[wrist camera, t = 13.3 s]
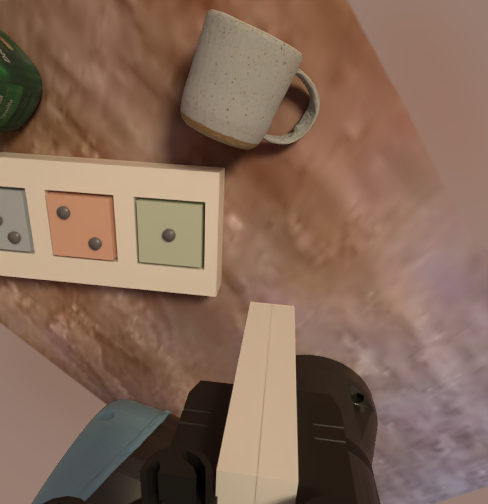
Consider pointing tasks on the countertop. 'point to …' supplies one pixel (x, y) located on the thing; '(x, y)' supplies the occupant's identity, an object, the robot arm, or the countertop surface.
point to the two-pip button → (82, 224)
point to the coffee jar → (16, 85)
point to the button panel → (125, 208)
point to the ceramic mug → (242, 84)
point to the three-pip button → (14, 220)
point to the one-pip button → (171, 231)
